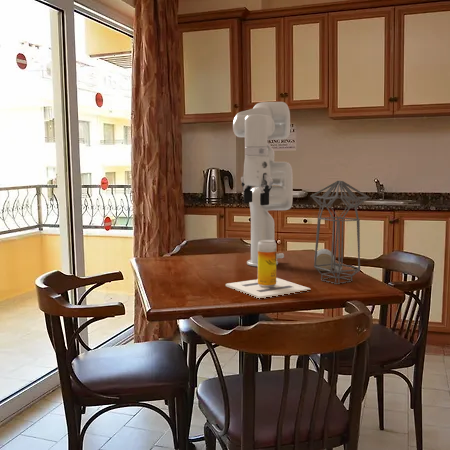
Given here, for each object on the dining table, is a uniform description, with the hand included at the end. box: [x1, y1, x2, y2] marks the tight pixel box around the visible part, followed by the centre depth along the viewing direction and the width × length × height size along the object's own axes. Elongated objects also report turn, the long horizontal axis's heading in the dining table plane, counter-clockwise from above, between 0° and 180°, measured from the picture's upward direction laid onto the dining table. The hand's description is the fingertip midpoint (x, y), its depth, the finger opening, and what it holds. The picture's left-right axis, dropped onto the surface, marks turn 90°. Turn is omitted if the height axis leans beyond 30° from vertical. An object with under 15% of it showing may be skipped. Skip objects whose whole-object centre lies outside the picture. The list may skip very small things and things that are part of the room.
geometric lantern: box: [310, 180, 371, 285], centre depth 182 cm, size 16×16×35 cm
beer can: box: [257, 239, 277, 288], centre depth 172 cm, size 6×6×15 cm
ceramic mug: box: [313, 248, 344, 273], centre depth 201 cm, size 11×8×8 cm
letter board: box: [225, 277, 311, 300], centre depth 173 cm, size 20×20×1 cm
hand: (256, 203), depth 178 cm, fingers open, 9 cm apart
